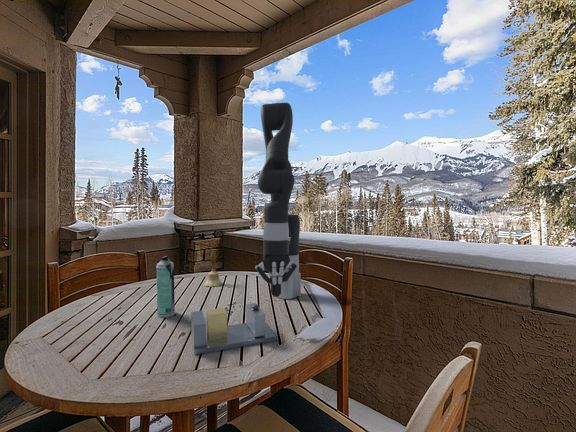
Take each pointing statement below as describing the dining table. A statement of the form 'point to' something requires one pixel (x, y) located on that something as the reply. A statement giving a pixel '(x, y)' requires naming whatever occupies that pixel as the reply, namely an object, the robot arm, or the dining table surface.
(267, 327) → the vise
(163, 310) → the spray can
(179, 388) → the dining table surface
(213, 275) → the hand bell
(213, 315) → the block
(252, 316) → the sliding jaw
